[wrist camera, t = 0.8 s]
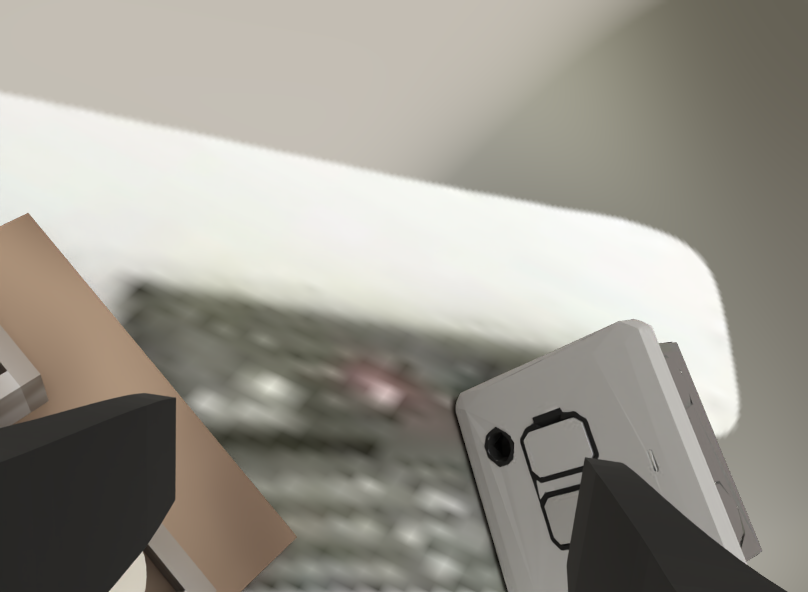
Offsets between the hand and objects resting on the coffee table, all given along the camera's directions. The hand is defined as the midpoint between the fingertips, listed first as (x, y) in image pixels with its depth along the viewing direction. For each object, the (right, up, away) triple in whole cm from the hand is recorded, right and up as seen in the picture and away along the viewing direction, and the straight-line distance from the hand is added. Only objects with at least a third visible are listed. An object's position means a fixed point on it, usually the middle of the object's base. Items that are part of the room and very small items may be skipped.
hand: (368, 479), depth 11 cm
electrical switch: (+6, -5, +17) cm, 19 cm away
